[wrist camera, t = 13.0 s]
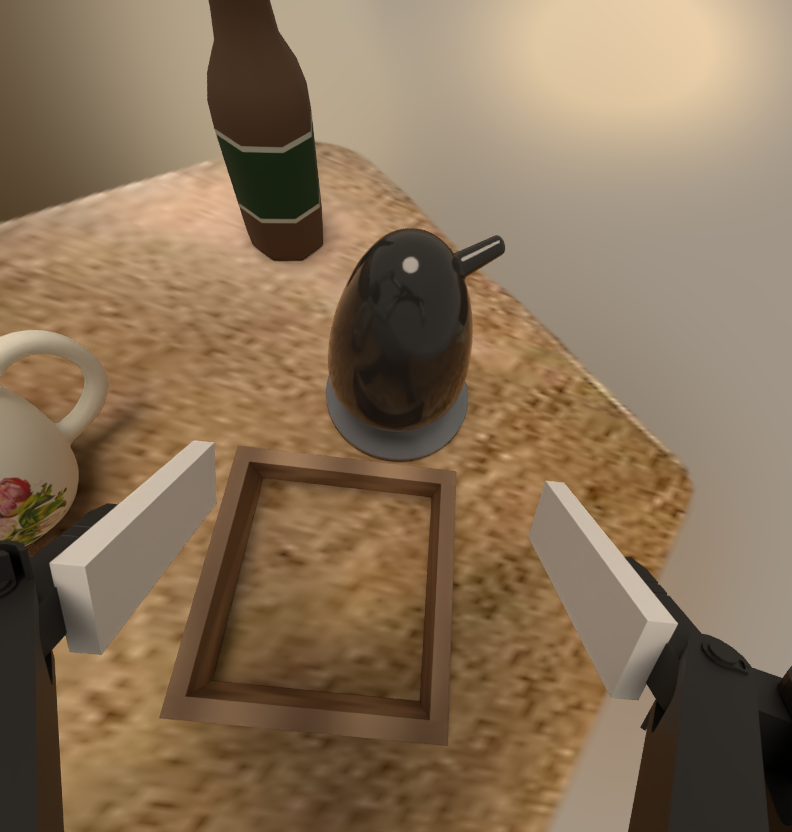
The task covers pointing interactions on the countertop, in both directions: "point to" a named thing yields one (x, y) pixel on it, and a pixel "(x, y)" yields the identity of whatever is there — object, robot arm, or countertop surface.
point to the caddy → (304, 708)
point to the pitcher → (42, 439)
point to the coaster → (396, 442)
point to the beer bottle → (265, 129)
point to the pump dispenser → (405, 329)
